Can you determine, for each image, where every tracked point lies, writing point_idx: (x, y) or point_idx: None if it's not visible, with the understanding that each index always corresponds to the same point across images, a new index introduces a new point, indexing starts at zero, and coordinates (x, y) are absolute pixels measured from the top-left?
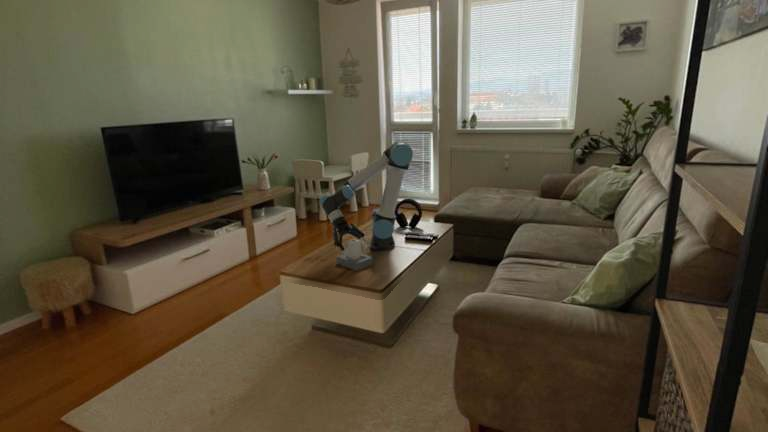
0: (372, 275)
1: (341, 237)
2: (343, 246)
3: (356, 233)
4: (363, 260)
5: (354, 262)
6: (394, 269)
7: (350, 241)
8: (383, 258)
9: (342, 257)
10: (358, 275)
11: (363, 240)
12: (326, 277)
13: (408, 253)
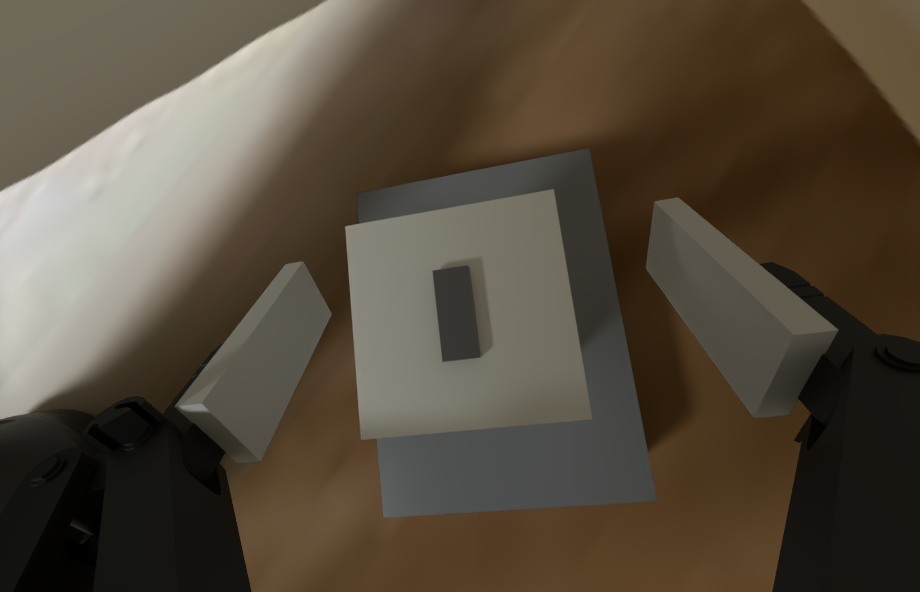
0: (529, 35)
1: (903, 558)
2: (772, 293)
3: (152, 563)
4: (477, 182)
5: (587, 189)
6: (335, 44)
7: (539, 346)
8: (241, 277)
9: (610, 419)
10: (621, 94)
11: (234, 342)
12: (911, 222)
13: (57, 239)
